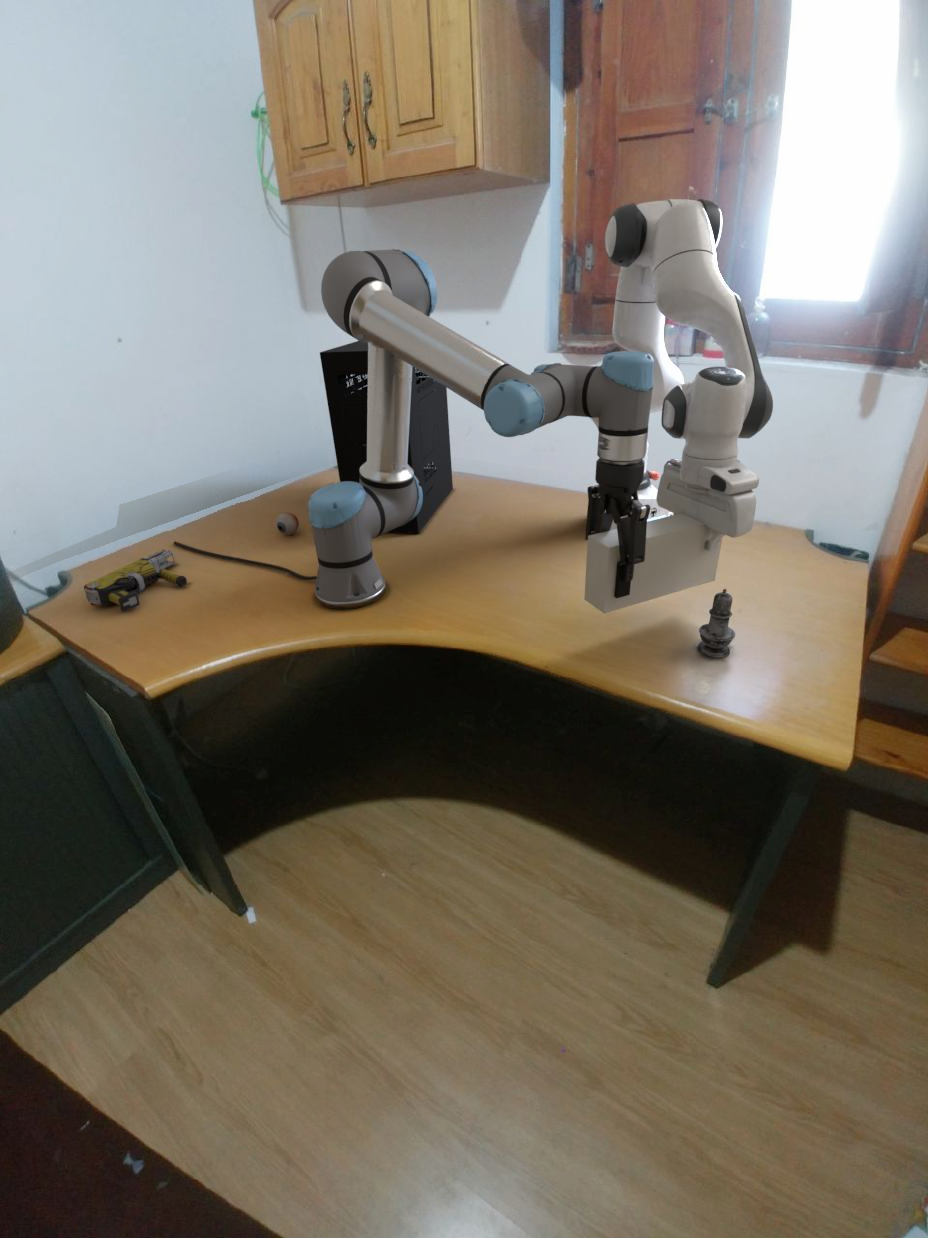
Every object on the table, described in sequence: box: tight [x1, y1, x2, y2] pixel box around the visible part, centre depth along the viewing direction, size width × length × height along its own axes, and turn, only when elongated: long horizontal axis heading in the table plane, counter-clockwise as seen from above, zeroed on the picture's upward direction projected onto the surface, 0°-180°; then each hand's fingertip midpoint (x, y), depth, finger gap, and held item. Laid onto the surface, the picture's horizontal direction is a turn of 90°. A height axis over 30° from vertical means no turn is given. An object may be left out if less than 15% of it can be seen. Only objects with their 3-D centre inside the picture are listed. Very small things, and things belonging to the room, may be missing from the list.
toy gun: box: [83, 548, 188, 613], centre depth 139 cm, size 5×24×15 cm
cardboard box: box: [319, 340, 454, 535], centre depth 167 cm, size 38×20×45 cm, turn 167°
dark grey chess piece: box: [697, 588, 736, 659], centre depth 103 cm, size 6×6×12 cm
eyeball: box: [275, 511, 300, 536], centre depth 163 cm, size 6×6×6 cm
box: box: [583, 513, 723, 614], centre depth 109 cm, size 25×6×12 cm, turn 115°
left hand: (610, 587), depth 107 cm, fingers closed on box, 6 cm apart
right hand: (695, 543), depth 111 cm, fingers closed on box, 6 cm apart
